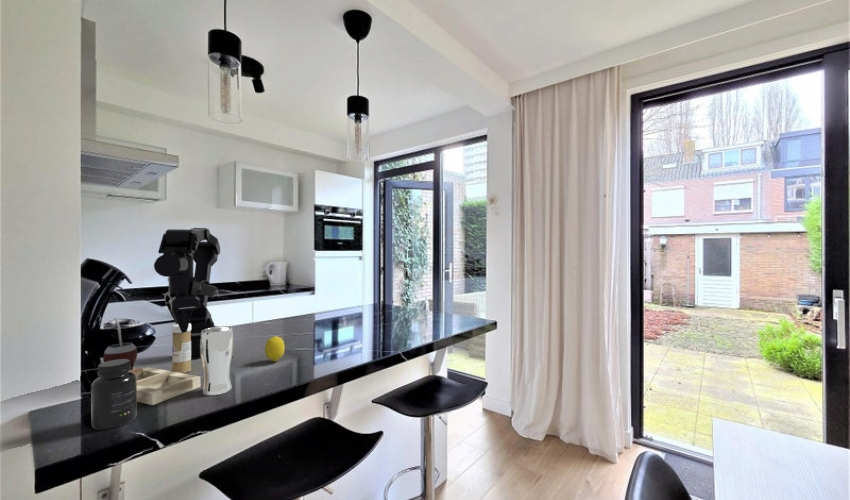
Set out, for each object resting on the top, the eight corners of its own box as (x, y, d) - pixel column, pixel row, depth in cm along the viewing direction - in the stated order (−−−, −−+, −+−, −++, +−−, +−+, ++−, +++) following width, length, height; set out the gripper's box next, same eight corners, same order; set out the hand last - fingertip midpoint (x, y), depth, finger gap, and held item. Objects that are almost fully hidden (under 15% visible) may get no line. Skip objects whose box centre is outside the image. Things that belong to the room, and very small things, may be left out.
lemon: (288, 359, 109) (287, 333, 109) (278, 365, 103) (278, 338, 103) (271, 358, 109) (271, 333, 109) (261, 364, 104) (261, 337, 104)
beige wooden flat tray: (96, 391, 84) (96, 380, 84) (146, 375, 95) (146, 365, 95) (152, 405, 77) (152, 392, 77) (200, 386, 87) (200, 375, 87)
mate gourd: (124, 378, 93) (123, 322, 93) (92, 379, 92) (92, 323, 92) (144, 368, 100) (144, 317, 100) (115, 369, 100) (115, 317, 100)
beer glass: (209, 399, 80) (209, 334, 80) (194, 392, 84) (194, 330, 84) (239, 388, 86) (239, 328, 86) (224, 382, 90) (223, 324, 89)
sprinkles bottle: (168, 373, 96) (167, 325, 96) (185, 368, 101) (184, 321, 101) (178, 375, 95) (178, 326, 95) (195, 370, 99) (195, 323, 99)
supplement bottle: (83, 427, 68) (82, 365, 67) (124, 411, 74) (123, 355, 74) (104, 433, 65) (103, 370, 65) (144, 417, 71) (144, 359, 71)
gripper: (221, 274, 96) (222, 330, 96) (207, 270, 110) (208, 320, 110) (171, 276, 88) (172, 337, 89) (164, 272, 102) (164, 325, 102)
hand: (181, 329), depth 98 cm, fingers open, 9 cm apart
